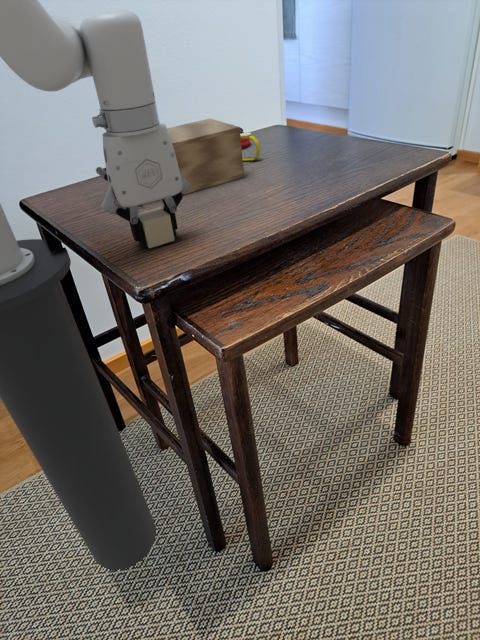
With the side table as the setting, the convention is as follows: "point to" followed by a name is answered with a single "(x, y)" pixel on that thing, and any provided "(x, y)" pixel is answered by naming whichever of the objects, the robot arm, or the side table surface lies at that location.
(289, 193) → the side table surface
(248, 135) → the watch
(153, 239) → the block
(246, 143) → the tracker holder
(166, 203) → the robot arm
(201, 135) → the cabinet
